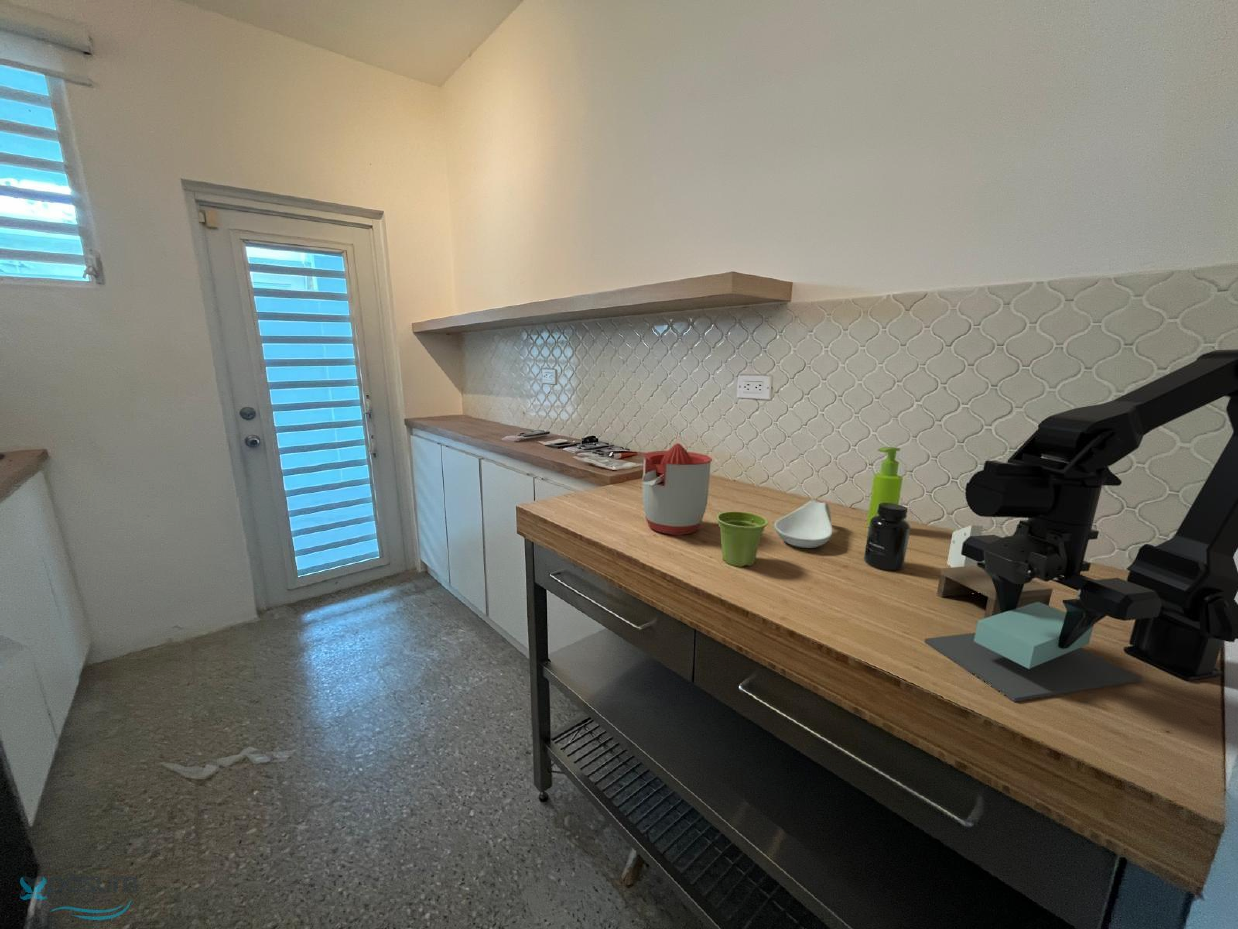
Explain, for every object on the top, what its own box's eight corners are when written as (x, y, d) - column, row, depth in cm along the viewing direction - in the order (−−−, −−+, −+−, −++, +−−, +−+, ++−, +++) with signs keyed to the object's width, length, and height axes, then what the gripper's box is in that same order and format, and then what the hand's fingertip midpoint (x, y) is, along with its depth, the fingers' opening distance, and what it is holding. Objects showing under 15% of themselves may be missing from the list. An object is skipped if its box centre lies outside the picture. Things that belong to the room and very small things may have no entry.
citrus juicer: (620, 526, 107) (623, 441, 103) (670, 513, 119) (674, 436, 115) (671, 546, 96) (676, 452, 92) (720, 529, 107) (727, 445, 103)
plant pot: (757, 575, 84) (761, 530, 82) (707, 563, 88) (710, 520, 86) (767, 558, 92) (772, 516, 90) (721, 548, 96) (724, 508, 94)
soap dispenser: (858, 526, 113) (869, 445, 109) (877, 523, 116) (889, 444, 112) (880, 534, 108) (893, 450, 104) (899, 530, 111) (913, 448, 107)
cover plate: (1088, 644, 60) (1094, 623, 60) (1028, 668, 55) (1034, 646, 54) (1033, 621, 66) (1037, 601, 65) (973, 641, 60) (978, 620, 59)
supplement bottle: (863, 566, 89) (872, 507, 86) (863, 555, 95) (871, 499, 92) (904, 575, 86) (915, 513, 83) (902, 562, 92) (911, 504, 89)
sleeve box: (1045, 616, 72) (1052, 588, 71) (990, 623, 70) (996, 594, 69) (988, 589, 81) (993, 564, 80) (936, 594, 78) (941, 568, 77)
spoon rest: (823, 559, 93) (828, 525, 91) (765, 545, 99) (768, 513, 98) (844, 529, 112) (848, 500, 110) (794, 518, 118) (798, 491, 117)
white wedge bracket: (977, 573, 81) (971, 525, 84) (948, 578, 91) (944, 535, 93) (1000, 575, 81) (994, 527, 83) (969, 581, 90) (964, 537, 93)
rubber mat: (1140, 681, 57) (1141, 677, 57) (1013, 702, 53) (1014, 698, 53) (1035, 628, 68) (1036, 625, 68) (924, 642, 64) (924, 638, 64)
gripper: (939, 499, 64) (920, 602, 67) (1104, 550, 46) (1069, 688, 49) (1002, 496, 66) (982, 596, 69) (1183, 544, 48) (1144, 676, 52)
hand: (1033, 632), depth 60 cm, fingers closed on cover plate, 6 cm apart
